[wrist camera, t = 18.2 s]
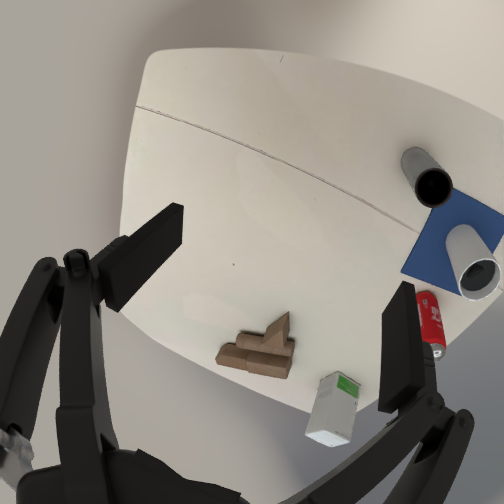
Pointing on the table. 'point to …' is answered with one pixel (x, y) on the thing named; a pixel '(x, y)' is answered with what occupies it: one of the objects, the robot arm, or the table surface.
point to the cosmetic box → (334, 410)
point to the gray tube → (426, 178)
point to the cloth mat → (435, 233)
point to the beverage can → (431, 323)
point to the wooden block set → (261, 351)
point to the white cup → (472, 263)
